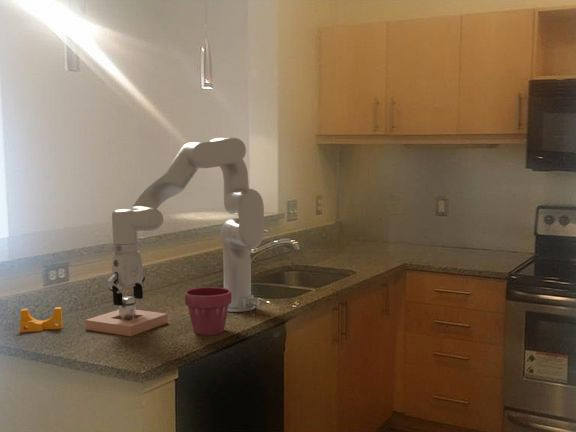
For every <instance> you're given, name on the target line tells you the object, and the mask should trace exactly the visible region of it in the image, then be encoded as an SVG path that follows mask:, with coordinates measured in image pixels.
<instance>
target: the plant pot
mask: <svg viewBox="0 0 576 432" xmlns="http://www.w3.org/2000/svg"><path fill="white" fill-rule="evenodd" d="M231 301H232V293H231V290H229V289H226V288H224V287H218V286H216V287H214V286H211V287H210V286H209V287H208V286H207V287H206V286H205V287H194V288H191V289H187V290H186V291H185V292H184V304H185V305H186V306H187V308H188V311H189V312H188V313H189V318H190V321H191V324H192V329H193V333H194V334H195V335H199V334H202V335H201V336H212V335H213V334H214V335H219V334H221V333H223V332H224V330H225V327H226V322H227V316H228V306H229V304H230V303H231Z"/></svg>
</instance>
